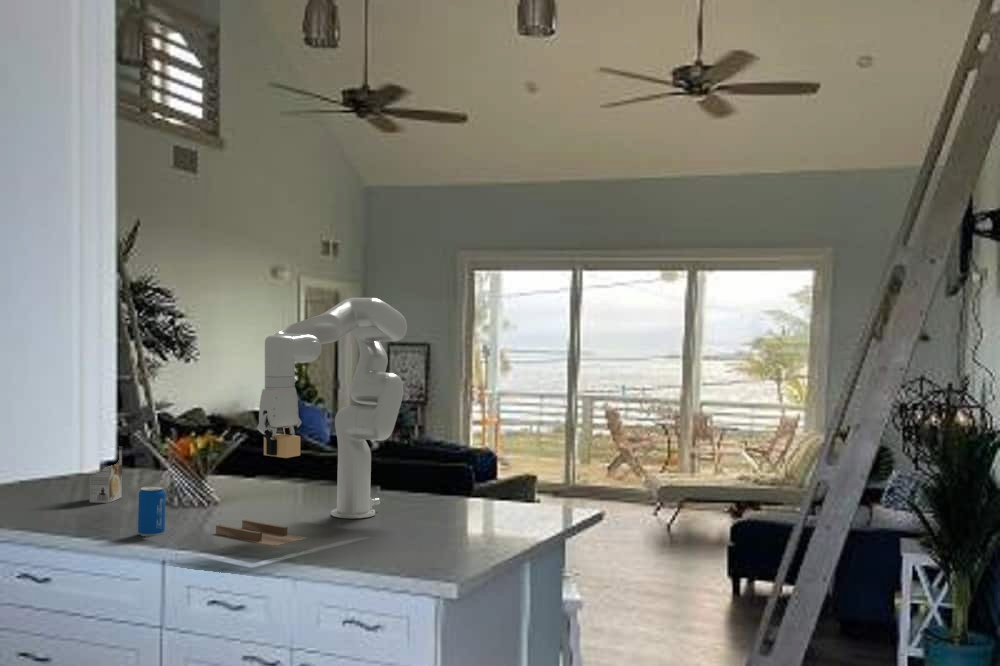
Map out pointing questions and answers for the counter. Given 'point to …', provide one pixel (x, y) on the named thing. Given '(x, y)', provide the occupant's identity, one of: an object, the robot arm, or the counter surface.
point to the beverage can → (151, 511)
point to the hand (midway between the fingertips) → (279, 452)
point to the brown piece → (259, 533)
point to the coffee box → (107, 483)
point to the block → (286, 446)
